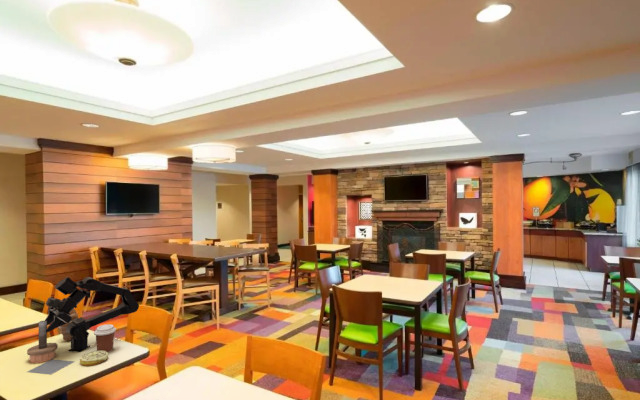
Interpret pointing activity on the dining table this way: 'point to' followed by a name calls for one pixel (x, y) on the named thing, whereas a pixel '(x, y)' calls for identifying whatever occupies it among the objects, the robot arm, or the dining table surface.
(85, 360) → the decorated donut
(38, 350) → the lid
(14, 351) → the dining table surface
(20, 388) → the dining table surface
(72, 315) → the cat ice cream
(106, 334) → the coffee cup
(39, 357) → the bowl
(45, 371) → the mat
